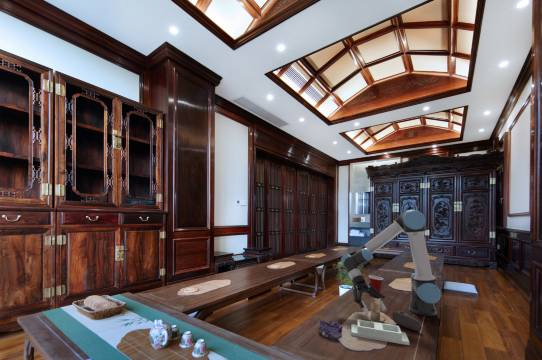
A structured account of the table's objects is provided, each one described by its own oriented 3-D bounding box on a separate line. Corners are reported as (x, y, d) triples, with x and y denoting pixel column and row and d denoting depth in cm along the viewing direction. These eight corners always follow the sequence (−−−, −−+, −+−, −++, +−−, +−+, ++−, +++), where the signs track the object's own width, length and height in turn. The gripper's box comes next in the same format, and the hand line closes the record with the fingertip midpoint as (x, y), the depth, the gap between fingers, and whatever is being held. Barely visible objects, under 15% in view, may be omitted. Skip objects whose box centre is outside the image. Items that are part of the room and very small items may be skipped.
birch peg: (379, 320, 147) (379, 298, 148) (380, 323, 142) (380, 301, 143) (370, 318, 148) (370, 297, 150) (371, 322, 143) (370, 300, 145)
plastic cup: (385, 295, 192) (385, 279, 193) (370, 294, 194) (369, 278, 196) (382, 291, 202) (381, 275, 204) (367, 290, 205) (367, 274, 206)
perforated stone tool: (424, 332, 133) (423, 318, 134) (419, 334, 131) (418, 320, 131) (397, 321, 146) (396, 308, 147) (391, 323, 143) (391, 310, 144)
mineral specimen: (317, 339, 124) (317, 329, 124) (321, 326, 137) (321, 317, 137) (341, 343, 120) (341, 333, 121) (342, 329, 133) (342, 321, 134)
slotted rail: (405, 335, 129) (405, 326, 129) (409, 345, 119) (409, 335, 120) (351, 327, 137) (351, 318, 137) (351, 335, 127) (351, 325, 128)
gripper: (368, 279, 167) (387, 312, 152) (338, 282, 157) (356, 318, 142) (374, 273, 163) (395, 305, 148) (344, 276, 153) (363, 311, 138)
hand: (376, 311), depth 145 cm, fingers open, 13 cm apart
